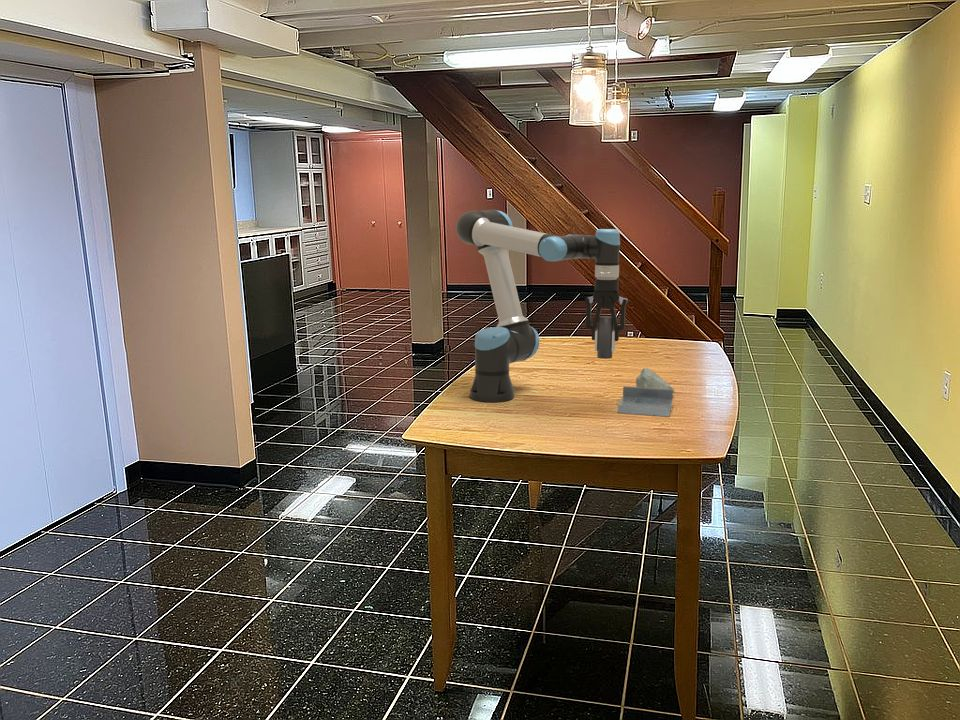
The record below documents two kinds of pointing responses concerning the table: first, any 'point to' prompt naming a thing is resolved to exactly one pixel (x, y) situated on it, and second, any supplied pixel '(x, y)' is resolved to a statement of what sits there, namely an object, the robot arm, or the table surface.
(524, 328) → the robot arm
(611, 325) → the dark grey round peg
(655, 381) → the decorative stone
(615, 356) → the table surface
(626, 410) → the plate
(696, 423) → the table surface
